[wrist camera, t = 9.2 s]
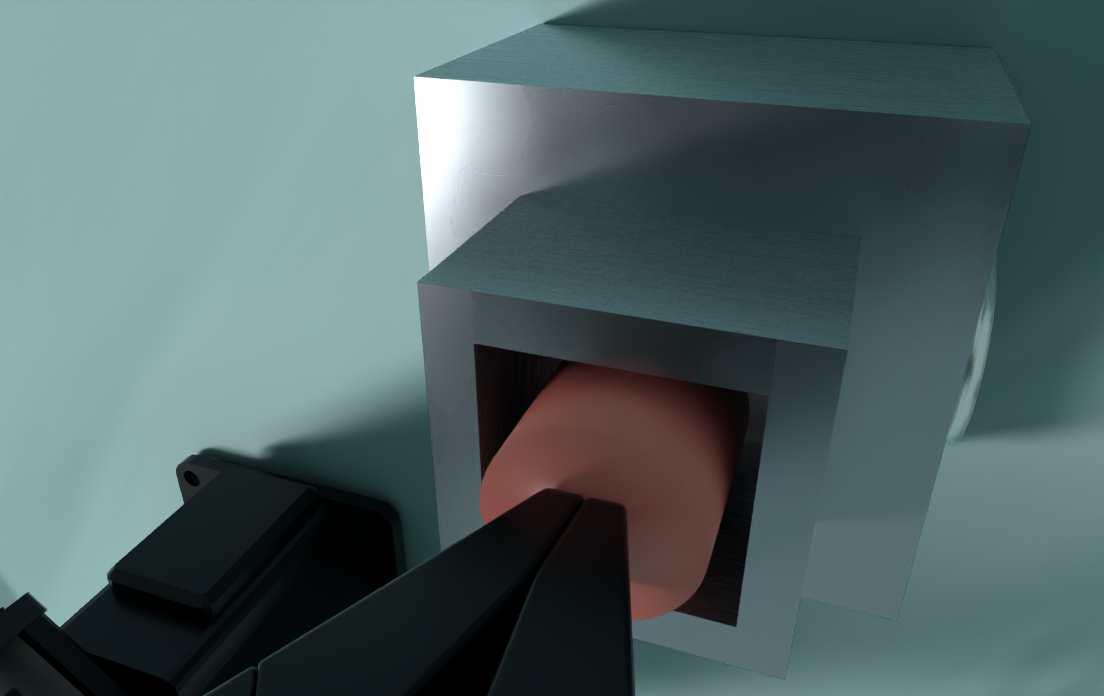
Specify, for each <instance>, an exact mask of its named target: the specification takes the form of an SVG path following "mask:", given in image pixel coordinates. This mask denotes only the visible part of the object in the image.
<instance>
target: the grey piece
mask: <svg viewBox="0 0 1104 696" xmlns="http://www.w3.org/2000/svg"><path fill="white" fill-rule="evenodd" d="M414 85H415V97H416V110H417V122H418V135H419V147H420V160H421V172H422V185H423V197H424V210H425V222H426V235H427V248H428V260H429V273H428V274H426V275H425V276H424V277H423V278H422V279H420V280H419V281H418V282H417V285H418V297H419V308H420V320H421V331H422V342H423V354H424V365H425V376H426V388H427V399H428V411H429V422H430V433H431V445H432V456H433V467H434V479H435V490H436V502H437V513H438V524H439V536H440V547H441V551H442V550H444V549H445V548H447V547H448V546H450V545H452V544H453V543H455V542H457V541H458V540H460V539H462V538H463V537H465V536H467V535H468V534H470V533H471V532H473V531H475V530H476V529H478V528H480V527H481V526H483V525H484V522H483V519H482V515H481V507H480V491H481V485H482V480H483V477H484V475H485V472H486V470H487V468H488V466H489V464H490V463H491V461H492V459H493V458H494V457H495V455H496V454H497V452H498V451H499V450H500V448H501V447H502V445H503V444H504V442H505V441H506V440H507V438H508V437H509V435H510V434H511V432H512V431H513V430H514V428H515V427H516V425H517V424H518V423H519V421H520V420H521V418H522V417H523V415H524V414H525V413H526V411H527V410H528V408H529V407H530V406H531V404H532V403H533V401H534V400H535V398H536V397H537V396H538V394H539V393H540V391H541V390H542V388H543V387H544V386H545V384H546V383H547V381H548V380H549V379H550V377H551V376H552V374H553V373H554V371H555V370H556V369H557V367H558V366H559V364H560V363H561V361H562V360H563V359H564V360H570V361H575V362H581V363H587V364H592V365H598V366H604V367H609V368H615V369H620V370H626V371H632V372H637V373H643V374H648V375H654V376H660V377H665V378H671V379H676V380H682V381H688V382H693V383H699V384H705V385H710V386H716V387H721V388H727V389H733V390H738V391H744V392H747V394H748V398H749V408H750V412H749V423H748V428H747V432H746V435H745V439H744V442H743V446H742V449H741V453H740V456H739V460H738V463H737V467H736V470H735V474H734V477H733V481H732V484H731V488H730V491H729V495H728V498H727V502H726V505H725V509H724V512H723V516H722V519H721V523H720V526H719V530H718V533H717V537H716V540H715V544H714V547H713V551H712V554H711V558H710V561H709V565H708V568H707V571H706V574H705V576H704V579H703V581H702V583H701V584H700V586H699V587H698V589H697V591H696V592H695V593H694V594H693V595H692V596H691V597H690V598H689V599H688V600H687V601H686V602H685V603H683V604H682V605H681V606H679V607H678V608H676V609H674V610H672V611H670V612H668V613H666V614H663V615H661V616H658V617H655V618H650V619H645V620H638V621H632V635H633V638H634V639H638V640H641V641H645V642H649V643H652V644H656V645H660V646H663V647H667V648H670V649H674V650H678V651H681V652H685V653H689V654H692V655H696V656H700V657H703V658H707V659H711V660H714V661H718V662H721V663H725V664H729V665H732V666H736V667H740V668H743V669H747V670H751V671H754V672H758V673H761V674H765V675H769V676H772V677H776V678H780V679H783V680H785V678H786V672H787V667H788V662H789V657H790V652H791V646H792V641H793V636H794V631H795V625H796V620H797V615H798V610H799V604H800V599H801V598H805V599H809V600H813V601H817V602H821V603H825V604H829V605H833V606H837V607H841V608H845V609H849V610H853V611H858V612H862V613H866V614H870V615H874V616H878V617H882V618H886V619H890V620H894V621H897V619H898V615H899V612H900V608H901V604H902V601H903V597H904V593H905V589H906V586H907V582H908V578H909V575H910V571H911V567H912V564H913V560H914V556H915V553H916V549H917V545H918V541H919V538H920V534H921V530H922V527H923V523H924V519H925V516H926V512H927V508H928V505H929V501H930V497H931V494H932V490H933V486H934V482H935V479H936V475H937V471H938V468H939V464H940V460H941V457H942V453H943V449H944V446H945V444H946V445H951V446H956V445H957V444H958V443H959V442H960V441H961V439H962V437H963V435H964V433H965V431H966V429H967V426H968V424H969V421H970V419H971V416H972V413H973V410H974V407H975V403H976V400H977V397H978V393H979V389H980V386H981V382H982V377H983V373H984V369H985V364H986V359H987V355H988V349H989V344H990V338H991V332H992V326H993V319H994V312H995V303H996V292H997V256H996V254H997V250H998V246H999V243H1000V239H1001V235H1002V232H1003V228H1004V224H1005V220H1006V217H1007V213H1008V209H1009V206H1010V202H1011V198H1012V195H1013V191H1014V187H1015V184H1016V180H1017V176H1018V172H1019V169H1020V165H1021V161H1022V158H1023V154H1024V150H1025V147H1026V143H1027V139H1028V136H1029V132H1030V128H1031V125H1032V124H1031V122H1030V120H1029V118H1028V116H1027V114H1026V112H1025V110H1024V108H1023V106H1022V104H1021V102H1020V100H1019V98H1018V96H1017V94H1016V92H1015V90H1014V87H1013V85H1012V83H1011V81H1010V79H1009V77H1008V75H1007V73H1006V71H1005V69H1004V67H1003V65H1002V63H1001V61H1000V59H999V57H998V55H997V53H996V51H995V49H994V48H981V47H963V46H944V45H926V44H907V43H888V42H870V41H851V40H833V39H814V38H795V37H777V36H758V35H740V34H721V33H702V32H684V31H665V30H647V29H628V28H609V27H591V26H572V25H554V24H539V25H536V26H534V27H531V28H529V29H527V30H524V31H522V32H519V33H517V34H515V35H512V36H510V37H508V38H505V39H503V40H500V41H498V42H496V43H493V44H491V45H488V46H486V47H484V48H481V49H479V50H476V51H474V52H472V53H469V54H467V55H464V56H462V57H460V58H457V59H455V60H453V61H450V62H448V63H445V64H443V65H441V66H438V67H436V68H433V69H431V70H429V71H426V72H424V73H421V74H419V75H417V76H414Z"/></svg>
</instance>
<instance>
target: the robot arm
mask: <svg viewBox="0 0 1104 696" xmlns="http://www.w3.org/2000/svg"><path fill="white" fill-rule="evenodd" d="M176 475H177V478H178V482H179V486H180V490H181V493H182V497H183V501H184V505H183V506H181V507H180V508H179V509H178V510H177V511H176V512H175V513H173V514H172V515H171V516H170V517H169V518H168V519H167V520H165V521H164V522H163V523H162V524H161V525H160V526H159V527H157V528H156V529H155V530H154V531H153V532H152V533H151V534H150V535H148V536H147V537H146V538H145V539H144V540H143V541H142V542H140V543H139V544H138V545H137V546H136V547H135V548H134V549H132V550H131V551H130V552H129V553H128V554H127V555H126V556H124V557H123V558H122V559H121V560H120V561H119V562H118V563H116V564H115V565H114V566H113V567H112V568H111V569H110V571H109V572H108V573H107V579H108V582H109V584H108V585H107V586H106V587H104V588H103V589H102V590H101V591H100V592H99V593H98V594H97V595H96V596H94V597H93V598H92V599H91V600H90V601H89V602H88V603H87V604H85V605H84V606H83V607H82V608H81V609H80V610H79V611H78V612H76V613H75V614H74V615H73V616H72V617H71V618H70V619H69V620H68V621H66V622H65V623H64V624H63V625H62V626H61V627H59V626H57V625H56V624H55V623H54V622H53V621H52V620H51V619H50V618H49V617H48V616H46V615H45V614H44V613H45V612H46V611H47V609H46V608H45V607H44V606H43V605H42V604H41V603H40V602H39V601H37V600H36V599H35V598H34V597H33V596H32V595H31V594H30V593H29V592H28V593H26V594H25V595H23V596H22V597H21V598H19V599H18V600H17V601H15V602H14V603H13V604H12V605H10V606H9V607H7V608H6V609H5V608H4V607H2V608H1V609H0V696H635V679H634V657H633V635H632V614H631V592H630V570H629V548H628V526H627V511H626V508H625V506H624V505H623V504H620V503H616V502H611V501H607V500H602V499H598V498H593V497H591V498H588V499H586V500H585V499H584V498H583V497H582V496H581V495H579V494H576V493H572V492H567V491H563V490H558V489H554V488H545V489H542V490H540V491H539V492H537V493H535V494H534V495H532V496H530V497H529V498H527V499H526V500H524V501H522V502H521V503H519V504H517V505H516V506H514V507H512V508H511V509H509V510H507V511H506V512H504V513H503V514H501V515H499V516H498V517H496V518H494V519H493V520H491V521H489V522H488V523H486V524H485V525H483V526H481V527H480V528H478V529H476V530H475V531H473V532H471V533H470V534H468V535H467V536H465V537H463V538H462V539H460V540H458V541H457V542H455V543H453V544H452V545H450V546H448V547H447V548H445V549H444V550H442V551H440V552H439V553H437V554H435V555H434V556H432V557H430V558H429V559H427V560H426V561H424V562H422V563H421V564H419V565H417V566H416V567H414V568H412V569H411V570H409V571H408V572H406V566H405V558H404V549H403V540H402V532H401V523H400V518H399V515H398V513H397V512H396V510H395V509H394V508H393V507H392V506H391V505H389V504H388V503H387V502H384V501H382V500H379V499H375V498H371V497H367V496H363V495H358V494H354V493H350V492H346V491H342V490H338V489H334V488H330V487H326V486H322V485H318V484H314V483H310V482H306V481H302V480H298V479H294V478H290V477H286V476H282V475H278V474H274V473H270V472H266V471H261V470H257V469H253V468H249V467H245V466H241V465H237V464H233V463H229V462H225V461H221V460H217V459H213V458H209V457H205V456H201V455H191V456H189V457H187V458H186V459H185V460H184V461H183V462H181V463H180V464H179V465H178V466H177V468H176Z"/></svg>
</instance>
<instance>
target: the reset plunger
mask: <svg viewBox="0 0 1104 696" xmlns="http://www.w3.org/2000/svg"><path fill="white" fill-rule="evenodd" d="M749 412H750V408H749V398H748V394H747V392H744V391H738V390H733V389H727V388H721V387H716V386H710V385H705V384H699V383H693V382H688V381H682V380H676V379H671V378H665V377H660V376H654V375H648V374H643V373H637V372H632V371H626V370H620V369H615V368H609V367H604V366H598V365H592V364H587V363H581V362H575V361H570V360H564V359H563V360H562V361H561V363H560V364H559V366H558V367H557V369H556V370H555V371H554V373H553V374H552V376H551V377H550V379H549V380H548V381H547V383H546V384H545V386H544V387H543V388H542V390H541V391H540V393H539V394H538V396H537V397H536V398H535V400H534V401H533V403H532V404H531V406H530V407H529V408H528V410H527V411H526V413H525V414H524V415H523V417H522V418H521V420H520V421H519V423H518V424H517V425H516V427H515V428H514V430H513V431H512V432H511V434H510V435H509V437H508V438H507V440H506V441H505V442H504V444H503V445H502V447H501V448H500V450H499V451H498V452H497V454H496V455H495V457H494V458H493V459H492V461H491V463H490V464H489V466H488V468H487V470H486V472H485V475H484V477H483V480H482V485H481V491H480V507H481V515H482V519H483V522H484V525H485V524H486V523H488V522H489V521H491V520H493V519H494V518H496V517H498V516H499V515H501V514H503V513H504V512H506V511H507V510H509V509H511V508H512V507H514V506H516V505H517V504H519V503H521V502H522V501H524V500H526V499H527V498H529V497H530V496H532V495H534V494H535V493H537V492H539V491H540V490H542V489H545V488H554V489H558V490H563V491H567V492H572V493H576V494H579V495H581V496H582V497H583V498H584V499H585V500H586V499H588V498H591V497H593V498H598V499H602V500H607V501H611V502H616V503H620V504H623V505H624V506H625V508H626V511H627V526H628V548H629V570H630V592H631V614H632V621H638V620H645V619H650V618H655V617H658V616H661V615H663V614H666V613H668V612H670V611H672V610H674V609H676V608H678V607H679V606H681V605H682V604H683V603H685V602H686V601H687V600H688V599H689V598H690V597H691V596H692V595H693V594H694V593H695V592H696V591H697V589H698V587H699V586H700V584H701V583H702V581H703V579H704V576H705V574H706V571H707V568H708V565H709V561H710V558H711V554H712V551H713V547H714V544H715V540H716V537H717V533H718V530H719V526H720V523H721V519H722V516H723V512H724V509H725V505H726V502H727V498H728V495H729V491H730V488H731V484H732V481H733V477H734V474H735V470H736V467H737V463H738V460H739V456H740V453H741V449H742V446H743V442H744V439H745V435H746V432H747V428H748V423H749Z"/></svg>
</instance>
